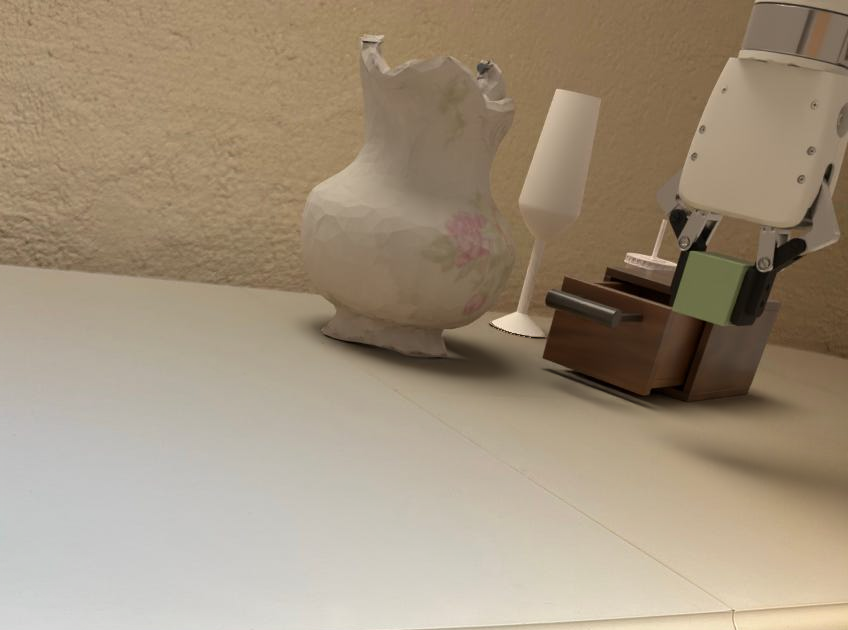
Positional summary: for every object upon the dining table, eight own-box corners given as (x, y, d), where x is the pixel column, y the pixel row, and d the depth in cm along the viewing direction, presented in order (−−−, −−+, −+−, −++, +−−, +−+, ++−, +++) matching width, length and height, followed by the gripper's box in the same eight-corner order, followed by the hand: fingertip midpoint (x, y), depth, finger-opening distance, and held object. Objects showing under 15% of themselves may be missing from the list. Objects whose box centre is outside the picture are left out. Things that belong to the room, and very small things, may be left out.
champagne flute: (555, 336, 119) (620, 103, 108) (531, 340, 113) (596, 96, 102) (504, 320, 121) (562, 91, 110) (478, 323, 116) (536, 83, 105)
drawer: (611, 399, 90) (639, 308, 87) (507, 360, 96) (529, 273, 93) (707, 388, 104) (735, 309, 101) (611, 354, 110) (634, 278, 107)
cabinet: (686, 402, 101) (721, 301, 96) (578, 362, 107) (606, 266, 103) (747, 393, 111) (782, 302, 107) (646, 358, 118) (674, 271, 113)
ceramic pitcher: (342, 313, 111) (371, 46, 100) (520, 346, 106) (571, 71, 95) (258, 342, 92) (283, 17, 81) (470, 383, 88) (527, 45, 77)
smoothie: (598, 339, 123) (635, 214, 116) (604, 332, 128) (640, 212, 122) (652, 353, 121) (692, 227, 115) (655, 345, 127) (694, 225, 121)
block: (747, 324, 80) (768, 266, 78) (723, 326, 77) (744, 265, 75) (697, 309, 83) (715, 252, 81) (671, 310, 80) (689, 250, 78)
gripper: (939, 71, 70) (833, 344, 78) (712, 39, 79) (639, 287, 87) (905, 54, 64) (795, 349, 73) (665, 21, 73) (593, 287, 82)
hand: (711, 312), depth 80 cm, fingers closed on block, 4 cm apart
